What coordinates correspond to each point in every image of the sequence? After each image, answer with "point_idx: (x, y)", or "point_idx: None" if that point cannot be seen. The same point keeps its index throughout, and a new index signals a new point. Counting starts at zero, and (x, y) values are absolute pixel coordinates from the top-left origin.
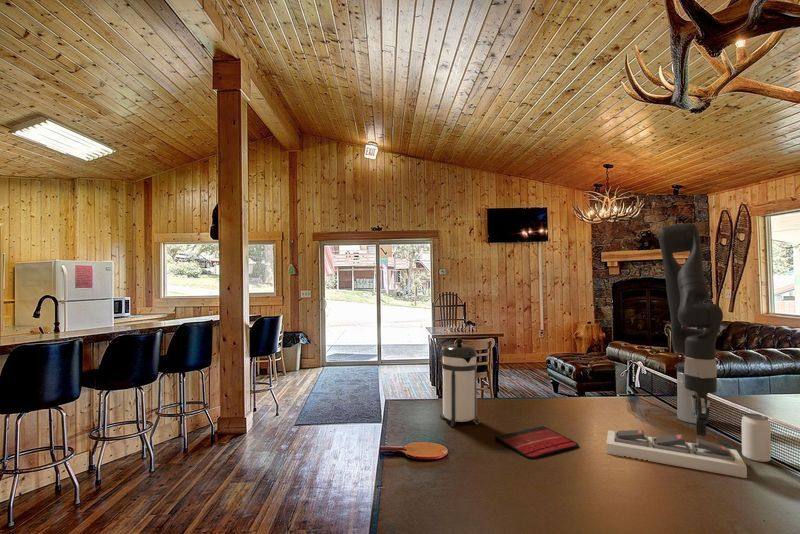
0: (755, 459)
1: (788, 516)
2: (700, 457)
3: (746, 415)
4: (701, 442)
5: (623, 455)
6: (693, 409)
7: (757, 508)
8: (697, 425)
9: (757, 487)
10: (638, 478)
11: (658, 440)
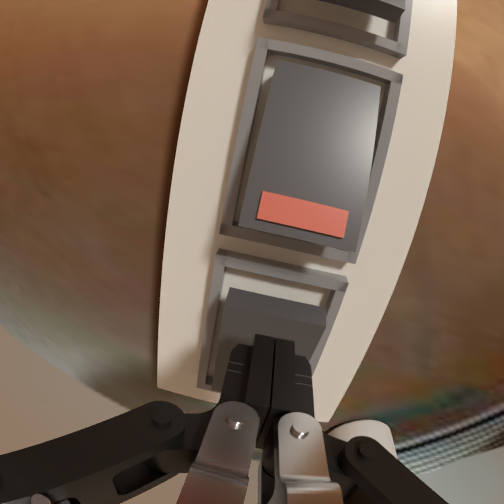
0: (328, 434)
1: (9, 328)
2: (184, 262)
3: None
4: (252, 323)
5: None
6: (285, 499)
7: (5, 286)
8: (246, 384)
9: (114, 353)
10: (51, 6)
11: (322, 81)
